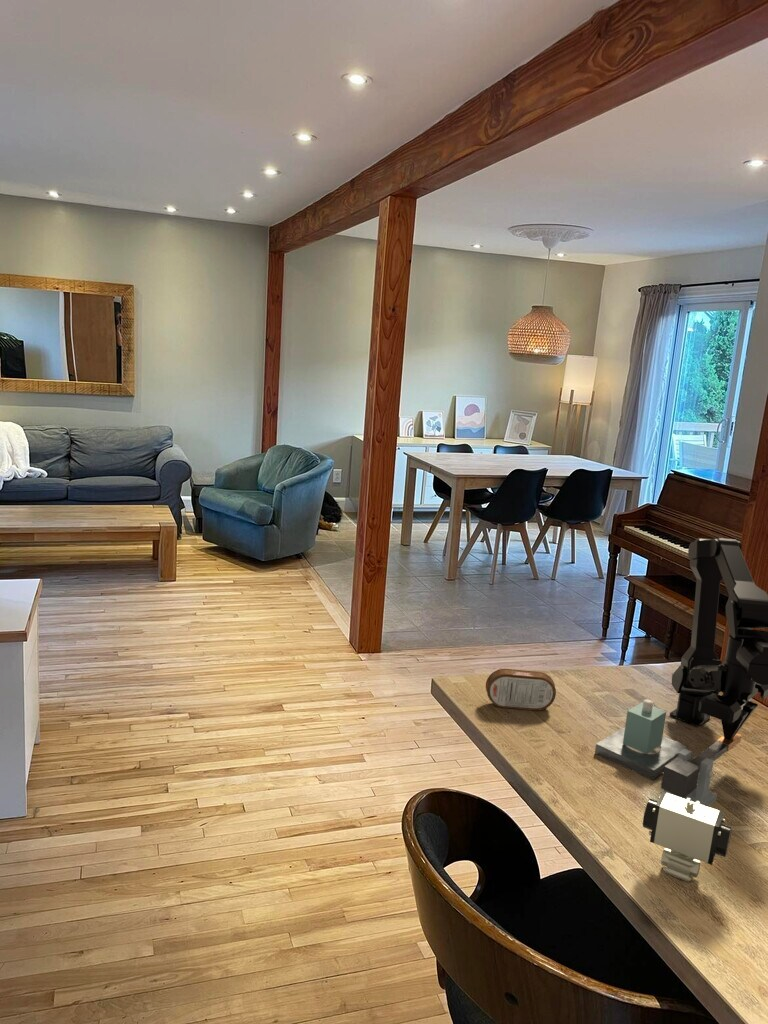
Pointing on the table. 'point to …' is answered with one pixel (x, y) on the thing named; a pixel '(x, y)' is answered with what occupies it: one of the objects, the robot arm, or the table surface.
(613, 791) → the table surface
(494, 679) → the tin
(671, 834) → the pneumatic valve
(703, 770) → the lever stand
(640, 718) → the block
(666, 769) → the lever
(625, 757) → the press bed
